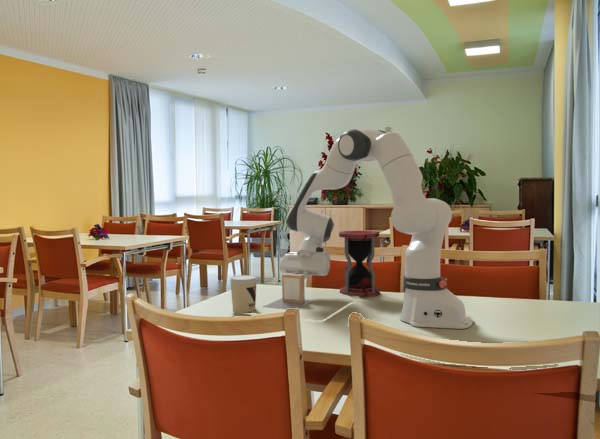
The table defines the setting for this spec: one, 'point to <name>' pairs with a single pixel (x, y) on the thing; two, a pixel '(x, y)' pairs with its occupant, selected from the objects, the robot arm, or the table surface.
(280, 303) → the slate board
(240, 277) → the coffee cup
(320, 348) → the table surface
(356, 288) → the hourglass
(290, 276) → the picture frame
